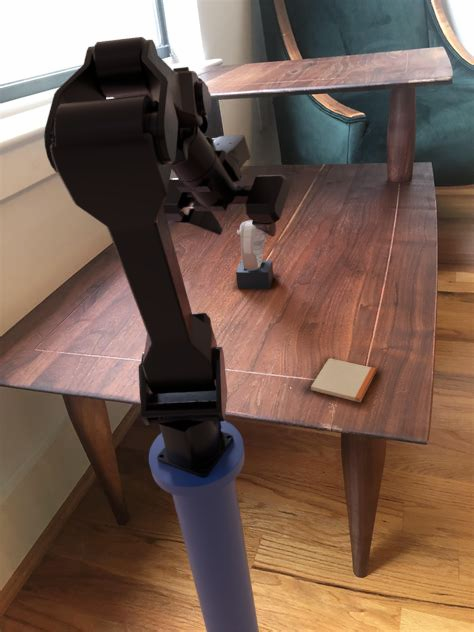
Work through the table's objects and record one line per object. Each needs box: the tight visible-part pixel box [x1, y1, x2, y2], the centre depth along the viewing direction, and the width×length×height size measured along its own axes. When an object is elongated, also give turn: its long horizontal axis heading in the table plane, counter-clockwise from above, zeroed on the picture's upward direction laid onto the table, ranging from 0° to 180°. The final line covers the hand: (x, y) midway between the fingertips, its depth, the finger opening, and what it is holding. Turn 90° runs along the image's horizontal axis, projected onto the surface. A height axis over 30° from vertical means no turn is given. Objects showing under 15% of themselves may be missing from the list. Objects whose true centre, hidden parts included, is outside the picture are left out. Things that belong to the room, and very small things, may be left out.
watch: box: [235, 219, 275, 290], centre depth 92 cm, size 6×8×11 cm
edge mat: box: [310, 357, 377, 403], centre depth 69 cm, size 6×6×1 cm
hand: (246, 233), depth 81 cm, fingers open, 9 cm apart
